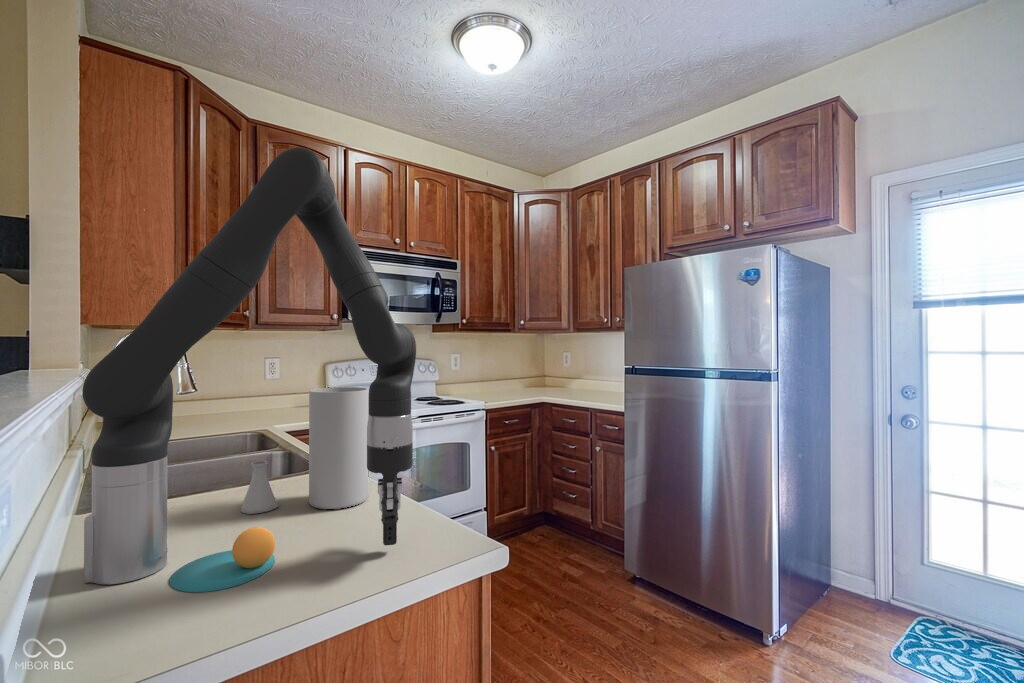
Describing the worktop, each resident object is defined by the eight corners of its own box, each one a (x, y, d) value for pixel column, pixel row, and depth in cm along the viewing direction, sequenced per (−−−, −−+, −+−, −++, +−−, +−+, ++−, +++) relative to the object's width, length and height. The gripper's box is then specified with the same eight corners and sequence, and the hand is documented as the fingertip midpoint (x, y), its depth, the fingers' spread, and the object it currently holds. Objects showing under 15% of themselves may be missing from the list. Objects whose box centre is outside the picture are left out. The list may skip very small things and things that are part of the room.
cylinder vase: (306, 513, 100) (306, 393, 100) (311, 495, 111) (311, 388, 112) (369, 507, 104) (369, 391, 104) (367, 490, 115) (367, 386, 116)
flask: (269, 501, 108) (269, 456, 108) (284, 508, 103) (284, 461, 103) (234, 509, 102) (234, 462, 102) (248, 517, 98) (249, 468, 98)
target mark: (151, 598, 67) (151, 596, 67) (191, 555, 80) (191, 553, 80) (262, 585, 70) (262, 584, 70) (283, 546, 84) (283, 545, 84)
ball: (265, 577, 74) (222, 573, 72) (274, 559, 80) (234, 556, 78) (274, 538, 74) (231, 534, 72) (282, 523, 80) (243, 519, 78)
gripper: (368, 434, 87) (368, 530, 87) (364, 450, 74) (364, 563, 74) (410, 432, 89) (410, 526, 89) (414, 447, 76) (414, 557, 76)
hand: (389, 543), depth 81 cm, fingers closed
